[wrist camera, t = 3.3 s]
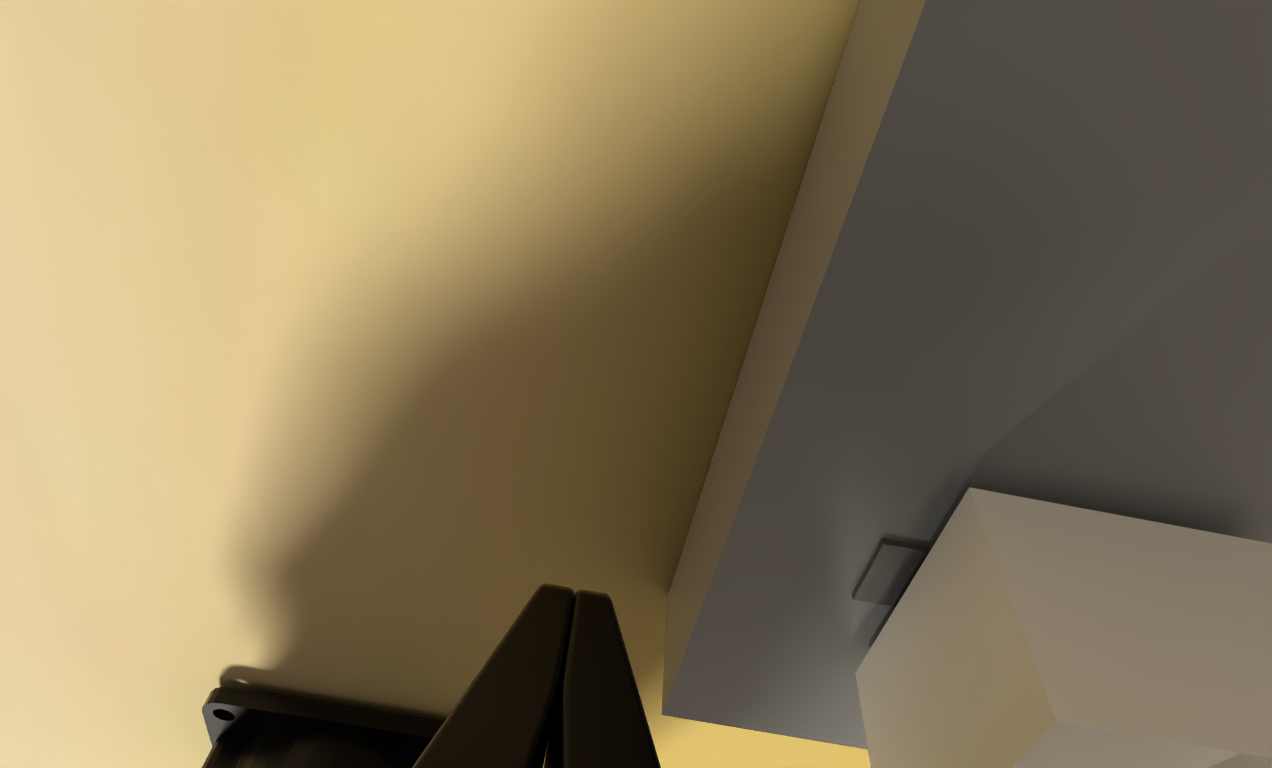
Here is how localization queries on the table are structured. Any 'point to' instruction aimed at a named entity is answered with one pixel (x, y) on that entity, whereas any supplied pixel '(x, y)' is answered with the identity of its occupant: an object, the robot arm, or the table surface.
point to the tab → (1074, 645)
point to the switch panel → (986, 326)
